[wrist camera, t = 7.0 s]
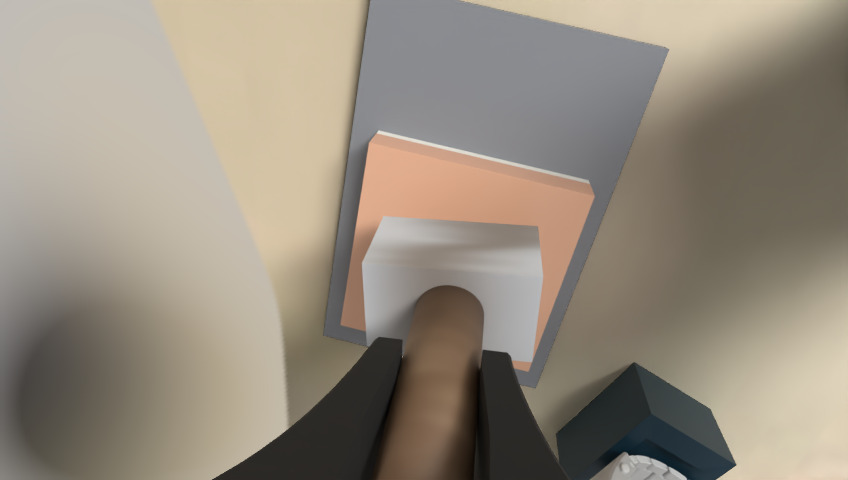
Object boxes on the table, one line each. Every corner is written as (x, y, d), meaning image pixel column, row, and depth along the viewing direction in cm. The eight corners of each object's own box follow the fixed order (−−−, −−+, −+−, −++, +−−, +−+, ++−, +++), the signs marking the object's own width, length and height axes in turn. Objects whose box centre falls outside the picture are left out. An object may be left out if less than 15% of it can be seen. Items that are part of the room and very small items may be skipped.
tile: (594, 195, 18) (528, 371, 22) (588, 180, 20) (526, 347, 24) (369, 142, 19) (340, 324, 22) (378, 130, 20) (350, 303, 24)
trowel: (538, 226, 17) (568, 518, 8) (528, 303, 19) (546, 620, 10) (383, 215, 18) (263, 479, 9) (386, 291, 19) (284, 581, 10)
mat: (665, 47, 18) (668, 49, 18) (534, 381, 25) (535, 388, 24) (376, -19, 18) (372, -19, 18) (326, 329, 25) (323, 335, 25)
